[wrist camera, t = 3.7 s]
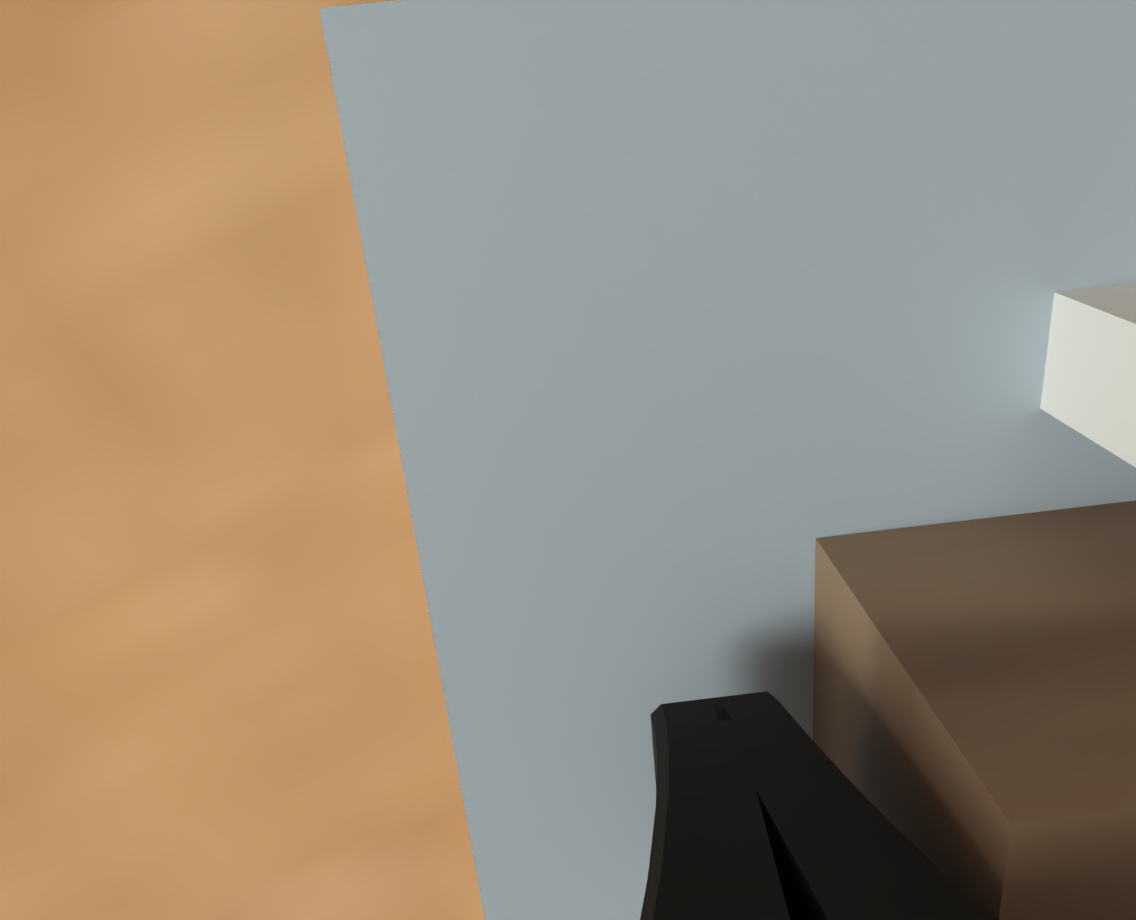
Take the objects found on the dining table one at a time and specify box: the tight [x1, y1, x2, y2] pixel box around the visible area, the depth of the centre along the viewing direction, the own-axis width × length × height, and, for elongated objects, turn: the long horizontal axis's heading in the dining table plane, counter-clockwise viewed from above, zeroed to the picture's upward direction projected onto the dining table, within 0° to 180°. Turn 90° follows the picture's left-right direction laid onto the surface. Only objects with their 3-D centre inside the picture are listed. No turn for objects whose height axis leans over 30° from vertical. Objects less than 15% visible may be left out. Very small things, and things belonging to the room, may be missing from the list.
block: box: [813, 500, 1136, 920], centre depth 9 cm, size 4×4×4 cm
